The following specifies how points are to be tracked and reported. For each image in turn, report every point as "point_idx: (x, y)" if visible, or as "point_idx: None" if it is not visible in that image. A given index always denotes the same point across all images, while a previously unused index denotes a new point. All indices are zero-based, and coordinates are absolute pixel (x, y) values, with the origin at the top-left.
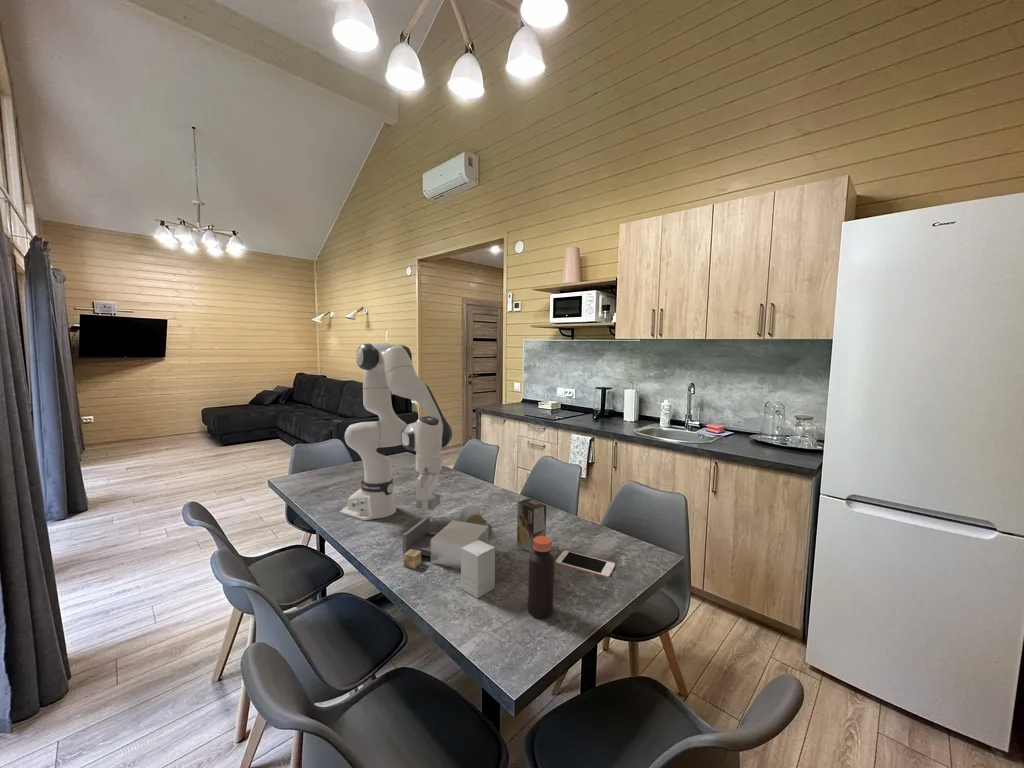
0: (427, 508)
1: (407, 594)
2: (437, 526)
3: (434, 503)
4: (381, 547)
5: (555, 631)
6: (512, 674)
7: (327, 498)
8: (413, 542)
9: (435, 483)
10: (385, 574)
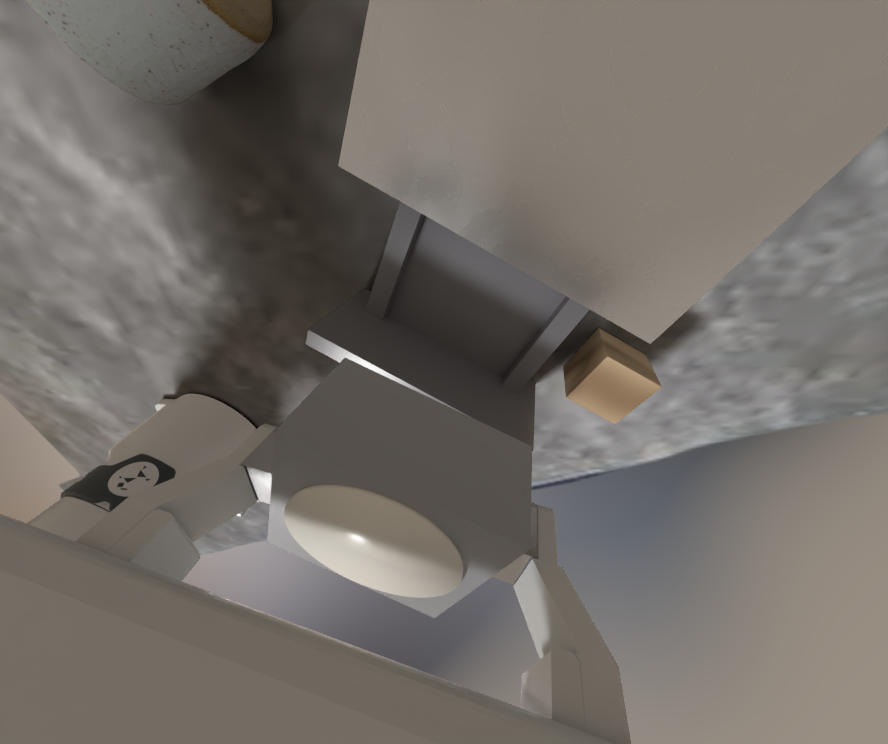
0: (552, 511)
1: (873, 387)
2: (260, 249)
3: (476, 470)
4: None
5: None
6: None
7: None
8: (480, 374)
9: (76, 682)
10: (640, 441)
